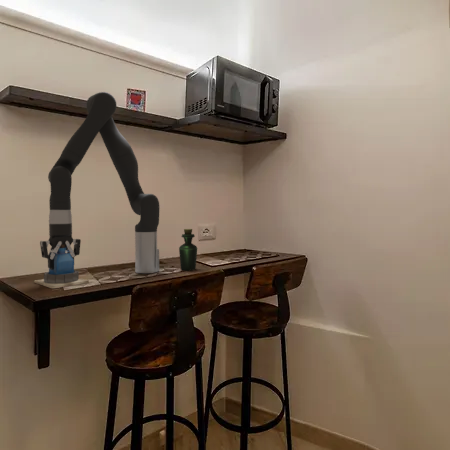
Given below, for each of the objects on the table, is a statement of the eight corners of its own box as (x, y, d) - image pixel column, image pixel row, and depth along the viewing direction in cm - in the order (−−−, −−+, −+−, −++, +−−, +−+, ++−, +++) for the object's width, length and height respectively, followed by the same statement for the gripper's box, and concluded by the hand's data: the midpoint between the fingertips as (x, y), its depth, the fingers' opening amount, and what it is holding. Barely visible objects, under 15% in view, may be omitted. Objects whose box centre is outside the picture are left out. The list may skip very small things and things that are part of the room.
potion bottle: (187, 271, 153) (187, 229, 152) (175, 269, 158) (175, 229, 157) (201, 269, 159) (201, 229, 158) (188, 267, 164) (188, 228, 163)
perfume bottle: (74, 276, 130) (73, 244, 129) (57, 279, 125) (56, 245, 125) (65, 275, 134) (65, 243, 133) (49, 277, 129) (48, 244, 129)
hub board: (69, 277, 139) (69, 267, 139) (88, 282, 130) (88, 272, 129) (34, 282, 130) (34, 272, 129) (52, 288, 120) (52, 277, 120)
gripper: (44, 223, 121) (45, 272, 121) (84, 222, 132) (85, 267, 132) (35, 222, 126) (36, 269, 126) (74, 221, 137) (75, 265, 137)
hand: (61, 268), depth 129 cm, fingers closed on perfume bottle, 6 cm apart
